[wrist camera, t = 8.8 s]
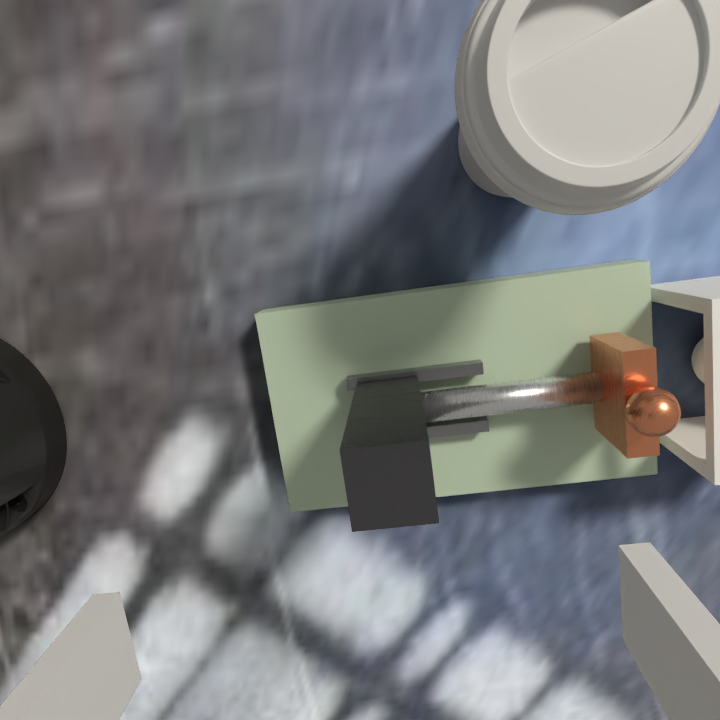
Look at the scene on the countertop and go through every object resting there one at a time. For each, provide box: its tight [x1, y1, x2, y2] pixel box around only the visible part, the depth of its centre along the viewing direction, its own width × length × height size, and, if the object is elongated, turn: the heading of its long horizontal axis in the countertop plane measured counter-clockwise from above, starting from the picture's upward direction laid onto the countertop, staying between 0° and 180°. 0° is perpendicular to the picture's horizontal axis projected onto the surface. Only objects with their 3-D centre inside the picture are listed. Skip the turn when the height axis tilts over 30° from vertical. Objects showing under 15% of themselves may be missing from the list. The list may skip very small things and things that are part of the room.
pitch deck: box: [255, 259, 658, 512], centre depth 35 cm, size 23×13×2 cm, turn 98°
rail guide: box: [346, 359, 489, 438], centre depth 34 cm, size 8×4×1 cm, turn 98°
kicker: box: [339, 332, 681, 532], centre depth 28 cm, size 16×6×11 cm, turn 98°
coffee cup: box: [455, 0, 720, 215], centre depth 26 cm, size 10×10×15 cm
